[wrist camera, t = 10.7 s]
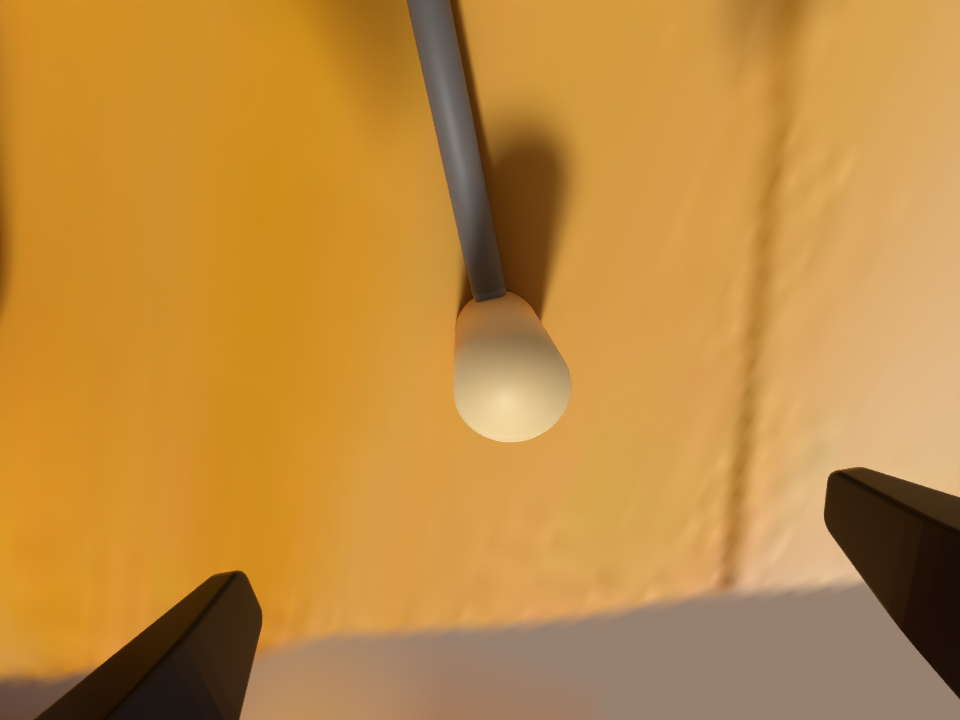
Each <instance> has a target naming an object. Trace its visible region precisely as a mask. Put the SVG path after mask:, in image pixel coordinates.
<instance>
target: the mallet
mask: <svg viewBox="0 0 960 720" xmlns="http://www.w3.org/2000/svg"><path fill="white" fill-rule="evenodd" d="M407 4H408V9H409V13H410V18H411V22H412V27H413V31H414V36H415V40H416V45H417V49H418V54H419V58H420V63H421V67H422V72H423V76H424V81H425V85H426V90H427V94H428V99H429V103H430V108H431V112H432V117H433V121H434V126H435V130H436V135H437V139H438V144H439V148H440V153H441V157H442V162H443V166H444V171H445V175H446V180H447V184H448V189H449V193H450V198H451V202H452V207H453V211H454V216H455V220H456V225H457V229H458V234H459V238H460V243H461V247H462V252H463V256H464V261H465V265H466V270H467V274H468V279H469V283H470V288H471V292H472V296H473V297H474V298H473V299H471V300H470V301H469V302H468V303H467V304H466V305H465V306H464V307H463V309H462V310H461V312H460V314H459V316H458V318H457V322H456V327H455V358H454V399H455V403H456V406H457V409H458V411H459V413H460V415H461V417H462V418H463V420H464V421H465V422H466V423H467V424H468V426H469V427H471V428H472V429H473V430H474V431H476V432H477V433H479V434H480V435H482V436H484V437H486V438H489V439H492V440H496V441H501V442H518V441H524V440H528V439H531V438H534V437H536V436H538V435H540V434H542V433H544V432H545V431H547V430H548V429H550V428H551V427H552V426H553V425H554V424H555V423H556V422H557V421H558V420H559V419H560V417H561V416H562V414H563V413H564V411H565V409H566V407H567V405H568V402H569V399H570V394H571V377H570V373H569V370H568V367H567V365H566V363H565V361H564V359H563V358H562V356H561V354H560V353H559V351H558V349H557V348H556V346H555V344H554V343H553V341H552V340H551V338H550V336H549V335H548V333H547V331H546V330H545V328H544V326H543V325H542V323H541V322H540V320H539V318H538V317H537V315H536V313H535V312H534V310H533V308H532V307H531V306H530V304H529V303H528V302H527V301H526V300H524V299H523V298H522V297H520V296H518V295H517V294H514V293H512V292H508V291H506V285H505V280H504V275H503V269H502V264H501V259H500V254H499V249H498V244H497V239H496V234H495V228H494V223H493V218H492V213H491V208H490V203H489V198H488V193H487V187H486V182H485V177H484V172H483V167H482V162H481V157H480V152H479V146H478V141H477V136H476V131H475V126H474V121H473V116H472V111H471V105H470V100H469V95H468V90H467V85H466V80H465V75H464V70H463V64H462V59H461V54H460V49H459V44H458V39H457V34H456V29H455V23H454V18H453V13H452V8H451V3H450V0H407Z"/></svg>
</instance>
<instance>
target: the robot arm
mask: <svg viewBox="0 0 960 720" xmlns="http://www.w3.org/2000/svg"><path fill="white" fill-rule="evenodd" d="M824 520H825V524H826V527H827V529H828V531H829V532H830V534H831V535H832V537H833V538H834V539H835V541H836V542H837V544H838V545H839V546H840V548H841V549H842V550H843V552H844V553H845V555H846V556H847V557H848V559H849V560H850V561H851V563H852V564H853V566H854V567H855V568H856V570H857V571H858V573H859V574H860V575H861V577H862V578H863V579H864V581H865V582H866V584H867V585H868V586H869V588H870V589H871V590H872V592H873V593H874V595H875V596H876V597H877V599H878V600H879V602H880V603H881V604H882V605H883V607H884V608H885V610H886V611H887V612H888V614H889V615H890V617H891V618H892V619H893V620H894V622H895V623H896V624H897V626H898V627H899V628H900V629H901V631H902V632H903V633H904V634H905V636H906V637H907V638H908V639H909V641H910V642H911V643H912V644H913V645H914V647H915V648H916V649H917V650H918V651H919V652H920V654H921V655H922V656H923V657H924V658H925V659H926V660H927V662H928V663H929V664H930V665H931V666H932V668H933V669H934V670H935V671H936V672H937V673H938V675H939V676H940V677H941V678H942V679H943V680H944V682H945V683H946V684H947V685H948V686H949V687H950V689H951V690H952V691H953V692H954V693H955V694H956V696H957V697H958V698H959V699H960V497H957V496H954V495H950V494H947V493H944V492H941V491H938V490H934V489H931V488H928V487H925V486H922V485H918V484H915V483H912V482H909V481H906V480H902V479H899V478H896V477H893V476H890V475H886V474H883V473H880V472H877V471H874V470H870V469H867V468H863V467H854V468H848V469H842V470H836V471H834V472H832V473H831V474H830V475H829V477H828V480H827V489H826V498H825V508H824ZM261 627H262V610H261V607H260V605H259V602H258V600H257V598H256V596H255V593H254V591H253V589H252V586H251V584H250V582H249V580H248V577H247V576H246V574H245V573H244V572H242V571H231V572H225V573H219V574H215V575H213V576H211V577H210V578H209V579H207V580H206V581H205V582H204V583H202V584H201V585H200V586H199V587H197V588H196V589H195V590H194V591H192V592H191V593H190V594H189V595H187V596H186V597H185V598H184V599H183V600H181V601H180V602H179V603H178V604H176V605H175V606H174V607H173V608H171V609H170V610H169V611H168V612H166V613H165V614H164V615H163V616H161V617H160V618H159V619H158V620H156V621H155V622H154V623H153V624H151V625H150V626H149V627H148V628H146V629H145V630H144V631H143V632H141V633H140V634H139V635H138V636H137V637H135V638H134V639H133V640H132V641H130V642H129V643H128V644H127V645H125V646H124V647H123V648H122V649H120V650H119V651H118V652H117V653H115V654H114V655H113V656H112V657H110V658H109V659H108V660H107V661H105V662H104V663H103V664H102V665H100V666H99V667H98V668H97V669H95V670H94V671H93V672H92V673H91V674H89V675H88V676H87V677H86V678H84V679H83V680H82V681H81V682H79V683H78V684H77V685H76V686H74V687H73V688H72V689H71V690H69V691H68V692H67V693H66V694H64V695H63V696H62V697H61V698H59V699H58V700H57V701H56V702H54V703H53V704H52V705H51V706H50V707H48V708H47V709H46V710H45V711H43V712H42V713H41V714H40V715H38V716H37V717H36V718H35V719H34V720H239V719H240V715H241V710H242V707H243V702H244V698H245V694H246V689H247V686H248V681H249V677H250V673H251V669H252V665H253V661H254V656H255V652H256V648H257V644H258V640H259V636H260V631H261Z"/></svg>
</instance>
